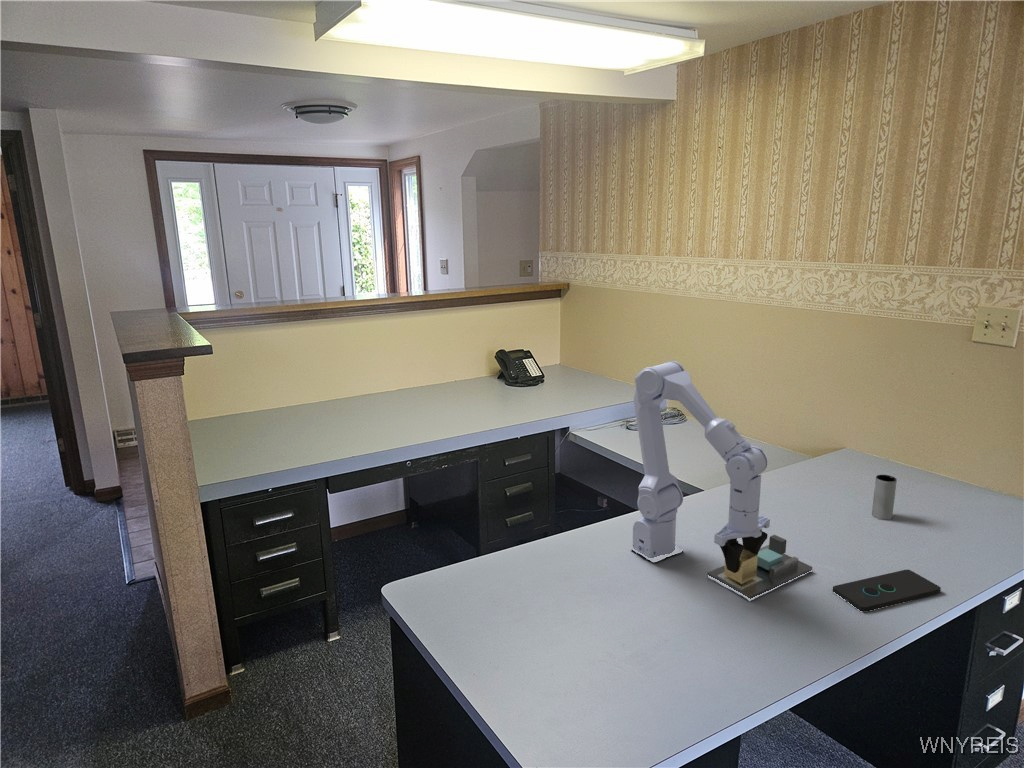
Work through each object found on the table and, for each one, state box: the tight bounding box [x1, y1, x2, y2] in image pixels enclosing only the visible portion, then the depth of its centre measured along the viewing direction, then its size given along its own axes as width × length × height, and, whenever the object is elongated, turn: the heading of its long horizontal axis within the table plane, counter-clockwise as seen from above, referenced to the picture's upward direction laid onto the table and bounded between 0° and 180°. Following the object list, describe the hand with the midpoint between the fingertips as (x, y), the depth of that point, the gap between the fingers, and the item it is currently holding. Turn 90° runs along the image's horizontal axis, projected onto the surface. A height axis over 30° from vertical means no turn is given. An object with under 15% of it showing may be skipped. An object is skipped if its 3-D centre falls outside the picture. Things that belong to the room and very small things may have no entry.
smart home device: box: [832, 569, 942, 612], centre depth 131 cm, size 8×2×20 cm
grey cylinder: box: [871, 474, 897, 521], centre depth 163 cm, size 4×4×10 cm
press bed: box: [707, 544, 813, 599], centre depth 139 cm, size 20×11×3 cm, turn 122°
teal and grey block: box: [757, 534, 787, 570], centre depth 140 cm, size 6×4×5 cm, turn 122°
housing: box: [724, 549, 758, 584], centre depth 135 cm, size 4×4×5 cm
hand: (740, 566), depth 135 cm, fingers open, 5 cm apart
